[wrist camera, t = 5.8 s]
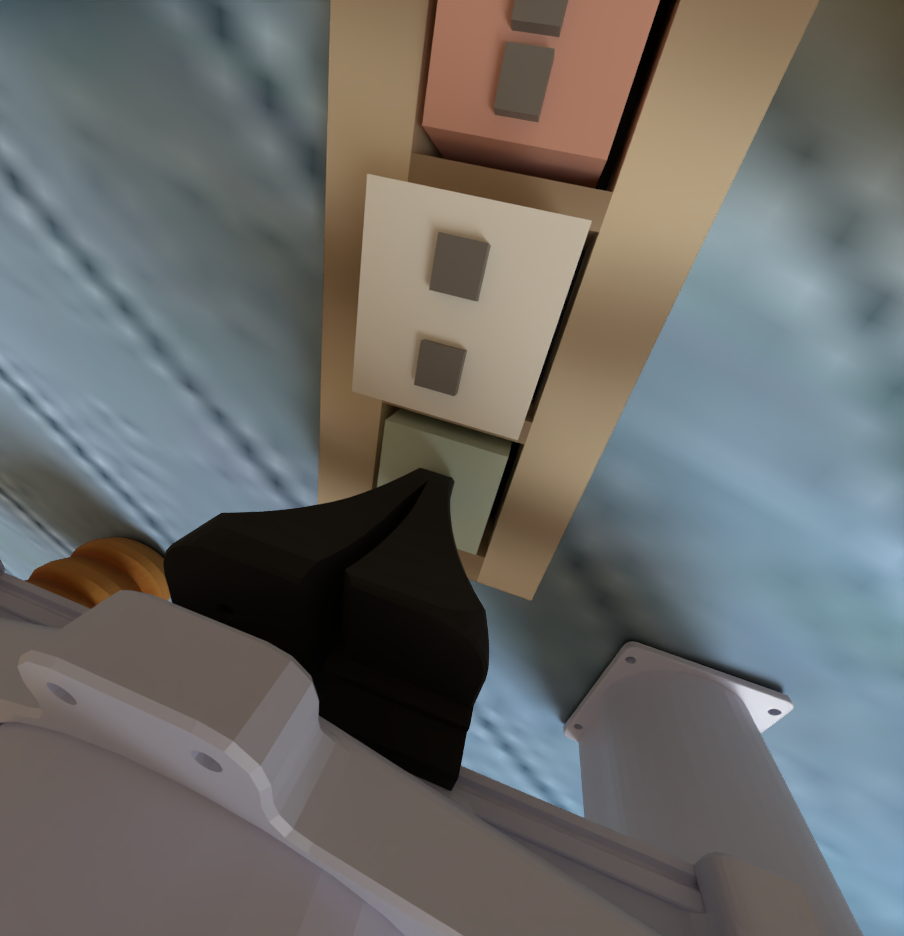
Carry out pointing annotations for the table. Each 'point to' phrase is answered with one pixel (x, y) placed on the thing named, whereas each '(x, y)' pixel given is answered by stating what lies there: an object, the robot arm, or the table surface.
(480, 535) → the button
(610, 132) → the button
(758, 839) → the robot arm
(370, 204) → the cream studded block
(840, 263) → the table surface
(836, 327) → the table surface
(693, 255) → the button board
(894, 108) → the table surface
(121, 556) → the toy
